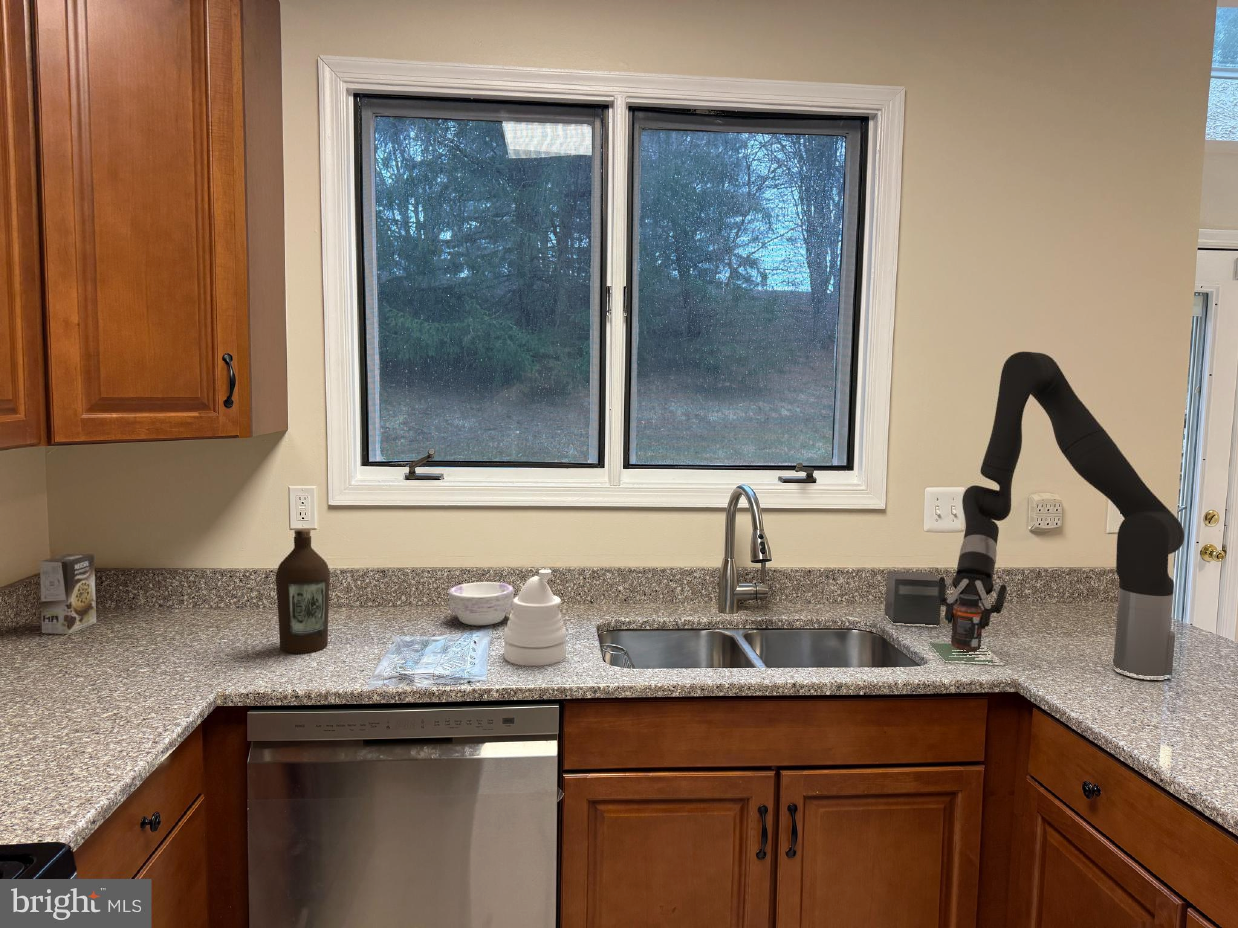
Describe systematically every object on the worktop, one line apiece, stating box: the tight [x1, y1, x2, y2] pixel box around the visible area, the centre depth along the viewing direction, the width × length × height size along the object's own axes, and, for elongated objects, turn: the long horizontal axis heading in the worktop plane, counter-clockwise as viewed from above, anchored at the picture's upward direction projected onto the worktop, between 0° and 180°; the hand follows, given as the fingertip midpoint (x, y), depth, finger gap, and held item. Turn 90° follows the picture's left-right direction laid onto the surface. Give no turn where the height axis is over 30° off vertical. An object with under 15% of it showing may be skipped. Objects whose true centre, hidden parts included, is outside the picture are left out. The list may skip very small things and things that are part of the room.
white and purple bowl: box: [448, 581, 515, 627], centre depth 191 cm, size 15×15×8 cm
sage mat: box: [928, 642, 997, 663], centre depth 173 cm, size 12×12×1 cm
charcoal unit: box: [884, 570, 942, 627], centre depth 198 cm, size 11×10×12 cm
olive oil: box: [275, 528, 331, 655], centre depth 168 cm, size 11×11×25 cm
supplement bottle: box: [950, 594, 984, 651], centre depth 172 cm, size 6×6×11 cm
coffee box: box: [39, 553, 97, 635], centre depth 179 cm, size 9×6×16 cm
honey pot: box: [503, 569, 567, 667], centre depth 166 cm, size 13×13×18 cm
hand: (966, 623), depth 171 cm, fingers open, 6 cm apart
